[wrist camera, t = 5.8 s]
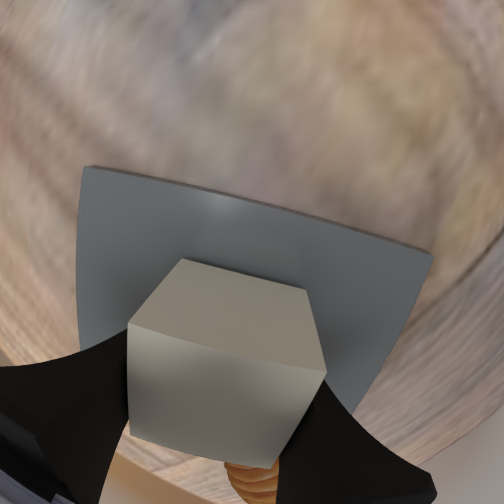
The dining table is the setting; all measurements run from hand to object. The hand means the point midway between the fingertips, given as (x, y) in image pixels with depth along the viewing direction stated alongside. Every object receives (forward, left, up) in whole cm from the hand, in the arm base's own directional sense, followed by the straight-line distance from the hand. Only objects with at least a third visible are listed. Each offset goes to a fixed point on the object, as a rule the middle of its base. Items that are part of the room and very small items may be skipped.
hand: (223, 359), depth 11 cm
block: (0, 0, -2) cm, 2 cm away
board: (0, 0, -3) cm, 3 cm away
